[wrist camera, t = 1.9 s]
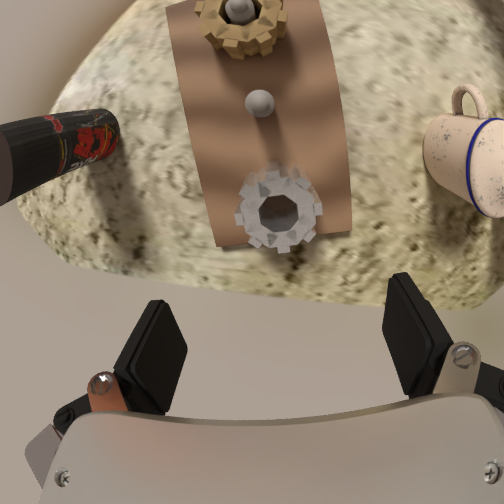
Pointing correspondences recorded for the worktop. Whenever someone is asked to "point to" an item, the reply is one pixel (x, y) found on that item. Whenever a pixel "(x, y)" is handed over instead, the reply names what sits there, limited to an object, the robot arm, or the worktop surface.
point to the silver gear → (284, 221)
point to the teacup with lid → (468, 154)
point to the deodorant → (52, 147)
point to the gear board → (260, 103)
